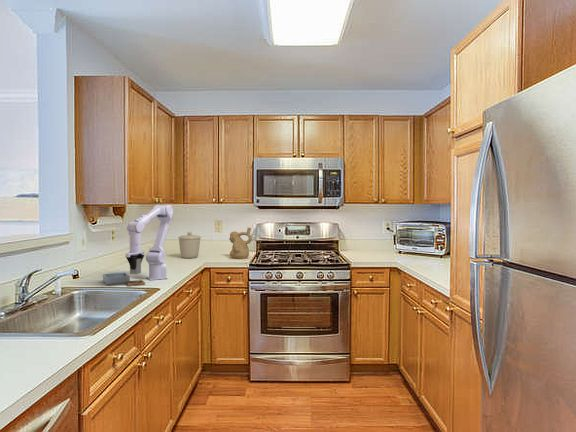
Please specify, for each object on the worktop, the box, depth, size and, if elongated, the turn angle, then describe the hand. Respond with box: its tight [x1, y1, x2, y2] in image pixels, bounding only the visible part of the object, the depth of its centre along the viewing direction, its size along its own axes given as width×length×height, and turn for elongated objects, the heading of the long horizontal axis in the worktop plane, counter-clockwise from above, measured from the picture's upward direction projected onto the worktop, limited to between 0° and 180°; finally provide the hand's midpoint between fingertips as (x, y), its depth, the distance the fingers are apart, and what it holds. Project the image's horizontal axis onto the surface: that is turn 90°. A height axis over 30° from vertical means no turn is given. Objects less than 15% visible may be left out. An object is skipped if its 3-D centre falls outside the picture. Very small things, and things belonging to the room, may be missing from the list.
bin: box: [102, 271, 131, 286], centre depth 211 cm, size 12×12×4 cm
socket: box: [125, 279, 146, 287], centre depth 206 cm, size 8×8×1 cm
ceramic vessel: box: [229, 227, 253, 260], centre depth 307 cm, size 17×20×25 cm
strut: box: [129, 258, 142, 275], centre depth 206 cm, size 4×4×8 cm
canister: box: [177, 231, 202, 259], centre depth 305 cm, size 18×18×21 cm
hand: (135, 268), depth 206 cm, fingers closed on strut, 4 cm apart
